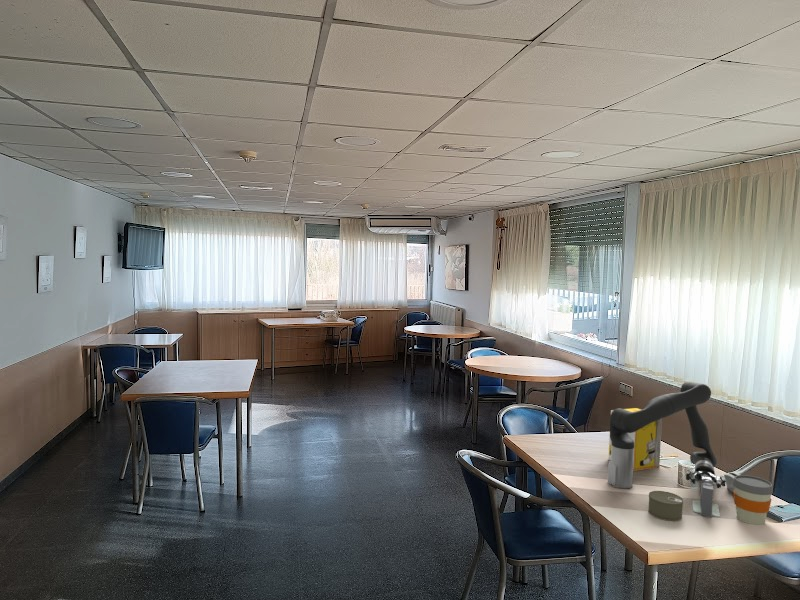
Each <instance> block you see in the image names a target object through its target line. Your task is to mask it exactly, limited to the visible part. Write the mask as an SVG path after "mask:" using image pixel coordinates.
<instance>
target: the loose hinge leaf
mask: <svg viewBox="0 0 800 600" xmlns="http://www.w3.org/2000/svg"><path fill="white" fill-rule="evenodd" d="M700 482H701V483H700V500H699V501H700V505H701V503H702V485H703V483H709V484H711V485H713V484H712V478H711V477H705V476H702V479H701V481H700Z"/></svg>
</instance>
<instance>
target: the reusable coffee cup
mask: <svg viewBox="0 0 800 600" xmlns="http://www.w3.org/2000/svg"><path fill="white" fill-rule="evenodd" d="M733 485H734V492H732V493H733V502H734V505H735V511H736V518H737V519H738V520H739V521H741V522H744V523H746V524H749V525H752V526H753V525H754V526H764V525H765V524H766V520H767V514H768V513H769V512H770V508H771V503H772V498H771V497H772V495H773V493H774V492H773V490H774V489H773V484H772V483H771V482H770V481H769V480H766V479H764V478H761V477H758V476H753V475H746V474H740V475H737V476H735V477H734V482H733Z"/></svg>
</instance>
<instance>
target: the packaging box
mask: <svg viewBox="0 0 800 600" xmlns="http://www.w3.org/2000/svg"><path fill="white" fill-rule="evenodd" d="M624 409H625V410H627V411H630V412H636V411H640V410H642V409H641V408H637V407H631V408H624ZM614 410H615V409H611V410H610V415H611V414H612V412H613V411H614ZM662 419H663V418H662ZM662 419H659V420H657V421H655V422H652V423H650V424H648V425H646V426H644V427H643V428H641V429H639V430H637V431H635V432H633V433H628V435H629V436H630V438H631V439H632V440H633V441H634V460H633V472H636V471H641V470H642V471H643V470H648V469H649V470H650V469H654V468H660V462H661V461H660V460H661V443H662V442H661V440H662V424H663V422H662V421H663V420H662ZM608 445H609V447H608V460H609V461H611V439H610V438H609V443H608Z"/></svg>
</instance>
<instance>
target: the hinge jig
mask: <svg viewBox="0 0 800 600" xmlns="http://www.w3.org/2000/svg"><path fill="white" fill-rule="evenodd" d="M713 500H714V486H713V484H712V485H711V484H709V483H703V485H702V503H701V505H700V500H695V499H692V501H691V502H692V512H693V513H698V514H701V515H700V516H702V517H707V518H711V519H712V517H717V518H721V516H720V510H719V505H718V504H716V503H714V502H713Z"/></svg>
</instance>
